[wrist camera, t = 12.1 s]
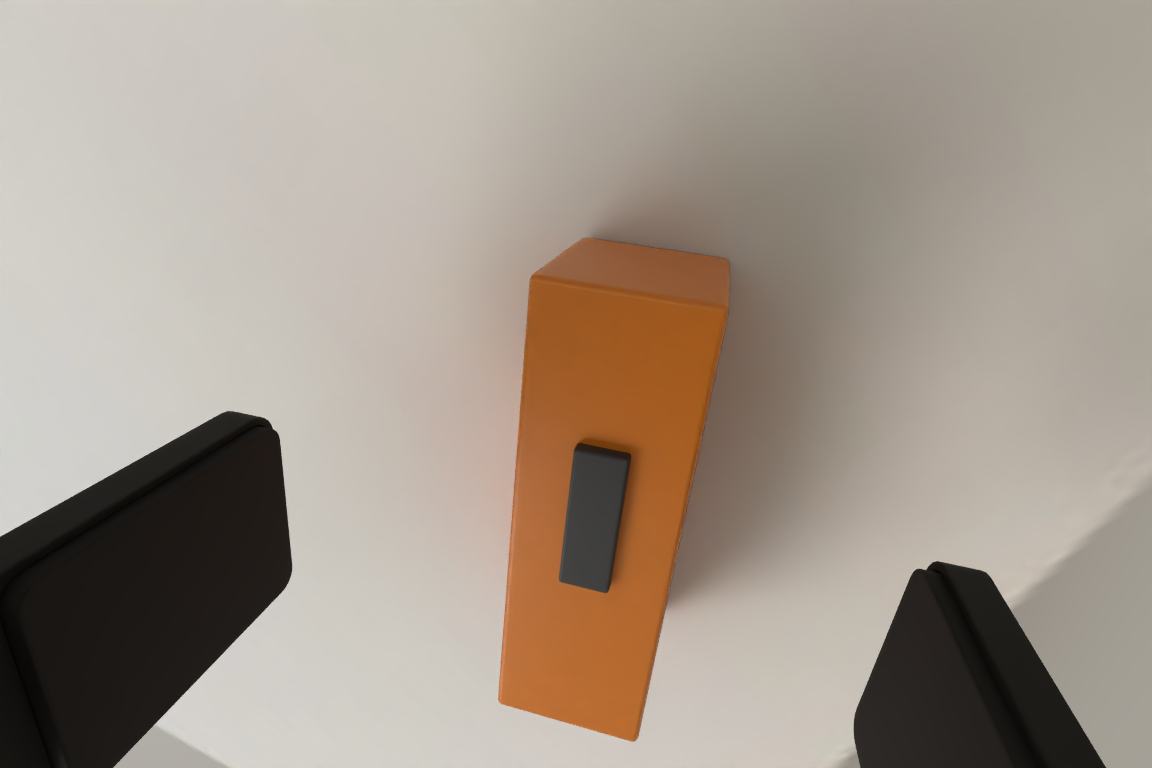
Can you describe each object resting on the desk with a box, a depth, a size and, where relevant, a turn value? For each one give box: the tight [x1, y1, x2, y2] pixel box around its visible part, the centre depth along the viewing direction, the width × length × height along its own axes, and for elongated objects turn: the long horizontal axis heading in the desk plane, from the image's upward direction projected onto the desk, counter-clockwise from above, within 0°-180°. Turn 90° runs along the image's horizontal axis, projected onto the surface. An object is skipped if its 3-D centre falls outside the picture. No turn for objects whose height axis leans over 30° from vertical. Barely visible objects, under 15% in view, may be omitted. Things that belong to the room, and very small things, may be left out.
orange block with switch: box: [498, 238, 730, 741], centre depth 11 cm, size 9×3×3 cm, turn 174°
